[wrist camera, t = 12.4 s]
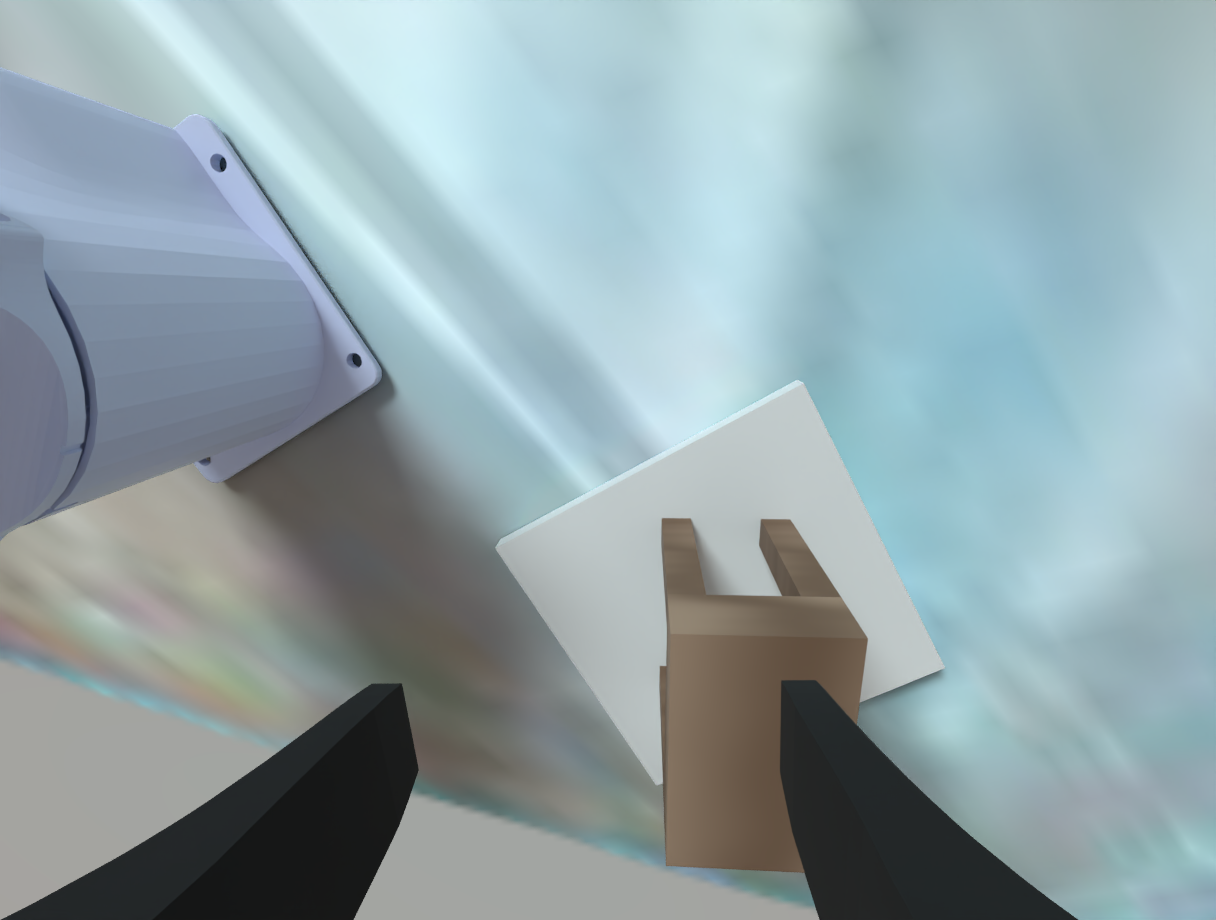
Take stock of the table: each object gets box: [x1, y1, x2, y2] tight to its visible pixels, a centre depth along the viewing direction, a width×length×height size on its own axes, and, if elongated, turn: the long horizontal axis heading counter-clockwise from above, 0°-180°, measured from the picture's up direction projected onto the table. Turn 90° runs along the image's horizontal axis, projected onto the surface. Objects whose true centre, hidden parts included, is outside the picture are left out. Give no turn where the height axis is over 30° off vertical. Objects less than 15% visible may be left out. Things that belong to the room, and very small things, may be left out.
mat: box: [495, 380, 945, 786], centre depth 21 cm, size 12×12×1 cm
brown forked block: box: [659, 518, 868, 873], centre depth 17 cm, size 4×7×7 cm, turn 1°
